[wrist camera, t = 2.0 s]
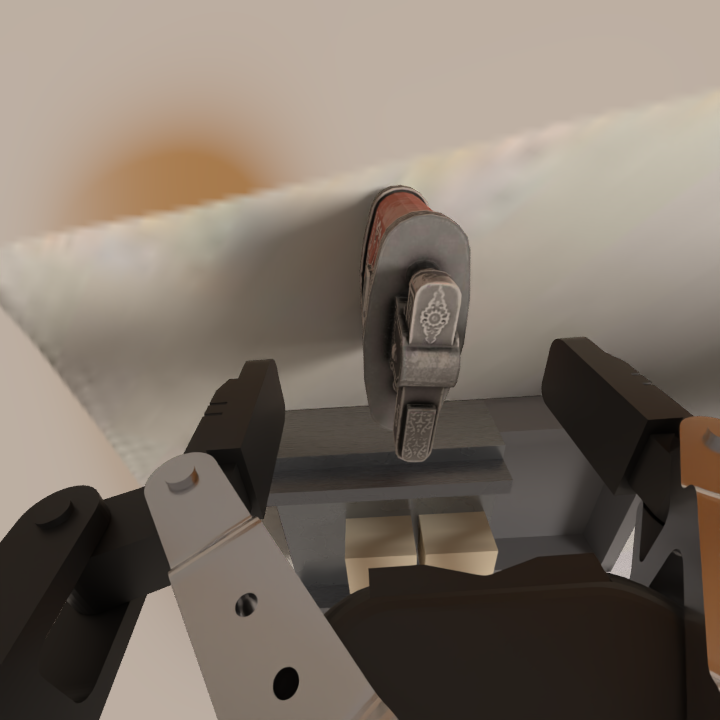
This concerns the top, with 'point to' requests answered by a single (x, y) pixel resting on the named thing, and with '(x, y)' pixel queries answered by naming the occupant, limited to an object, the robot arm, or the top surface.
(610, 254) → the top surface
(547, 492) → the tray
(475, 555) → the chip
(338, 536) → the slot block
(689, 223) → the top surface
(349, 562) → the chip
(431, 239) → the lighter
